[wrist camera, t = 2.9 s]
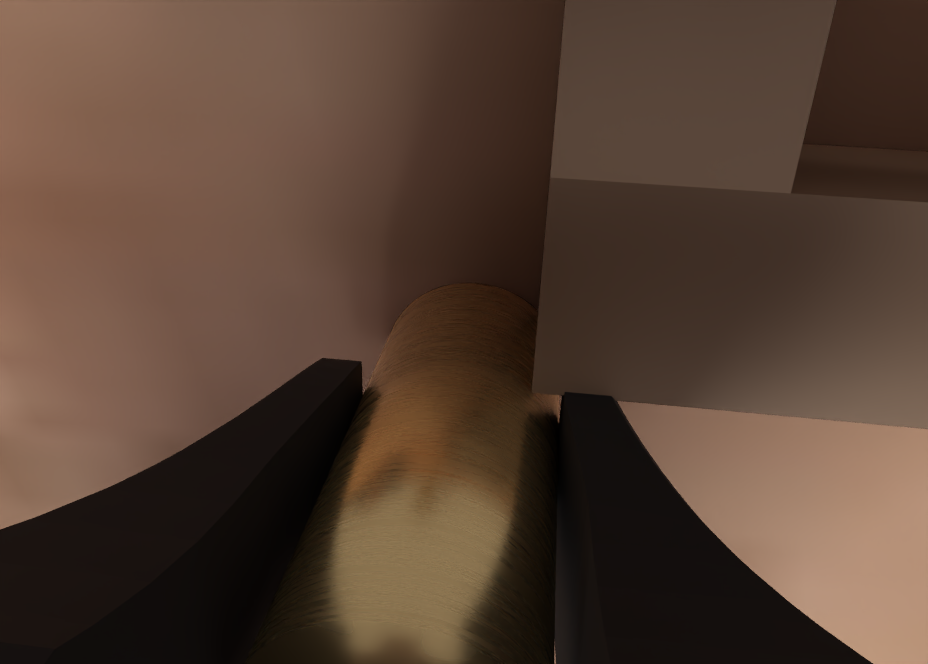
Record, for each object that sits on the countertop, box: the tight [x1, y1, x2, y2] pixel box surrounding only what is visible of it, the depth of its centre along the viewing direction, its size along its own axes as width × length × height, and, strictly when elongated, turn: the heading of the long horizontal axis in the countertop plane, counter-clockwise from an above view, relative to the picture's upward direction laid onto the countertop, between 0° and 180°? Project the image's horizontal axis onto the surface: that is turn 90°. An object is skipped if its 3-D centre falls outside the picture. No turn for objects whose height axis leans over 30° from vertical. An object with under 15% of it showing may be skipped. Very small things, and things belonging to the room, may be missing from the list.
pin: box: [245, 283, 559, 664], centre depth 10 cm, size 3×3×7 cm
